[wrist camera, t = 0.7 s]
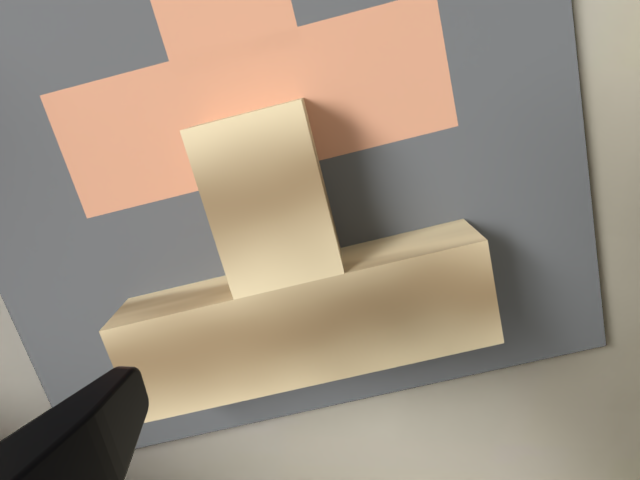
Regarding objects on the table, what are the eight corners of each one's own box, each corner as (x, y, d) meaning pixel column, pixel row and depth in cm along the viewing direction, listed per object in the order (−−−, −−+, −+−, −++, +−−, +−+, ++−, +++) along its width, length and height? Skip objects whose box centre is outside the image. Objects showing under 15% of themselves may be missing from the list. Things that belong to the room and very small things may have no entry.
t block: (479, 309, 22) (504, 343, 19) (159, 381, 22) (136, 424, 20) (436, 63, 19) (458, 58, 16) (74, 156, 20) (32, 168, 17)
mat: (599, 339, 23) (606, 345, 22) (81, 454, 24) (76, 461, 24) (528, -343, 16) (535, -356, 16) (-181, -129, 17) (-195, -134, 17)
